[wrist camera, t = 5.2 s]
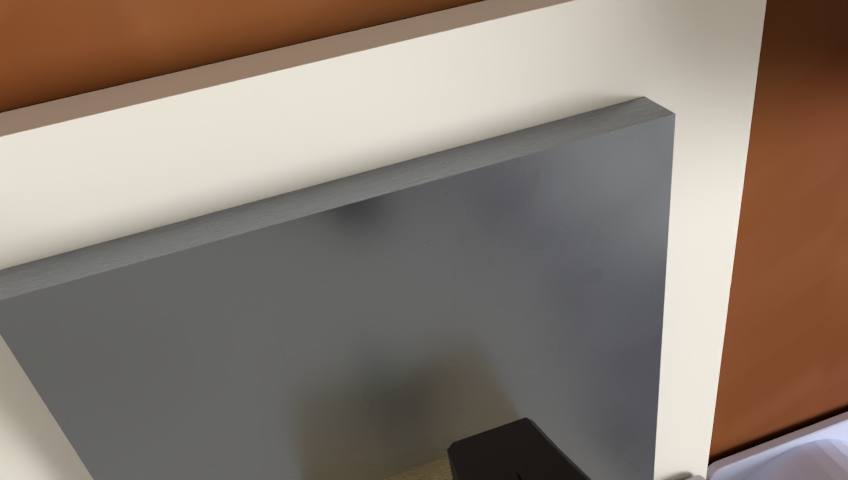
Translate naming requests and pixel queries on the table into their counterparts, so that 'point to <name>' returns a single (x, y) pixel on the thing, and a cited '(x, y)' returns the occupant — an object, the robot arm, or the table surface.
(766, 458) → the robot arm
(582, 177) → the plate
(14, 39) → the table surface
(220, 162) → the base board
